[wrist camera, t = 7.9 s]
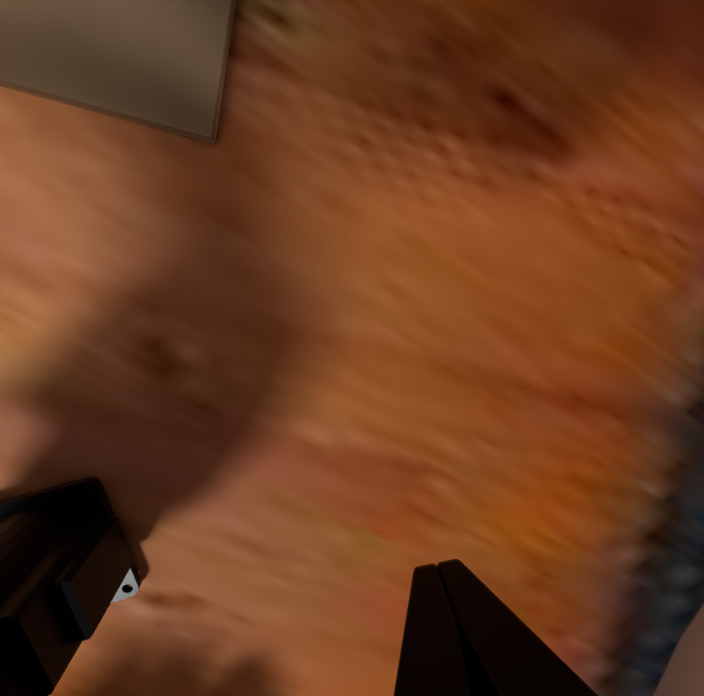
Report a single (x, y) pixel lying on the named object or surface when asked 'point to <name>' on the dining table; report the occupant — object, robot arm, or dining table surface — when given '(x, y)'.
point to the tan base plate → (122, 58)
